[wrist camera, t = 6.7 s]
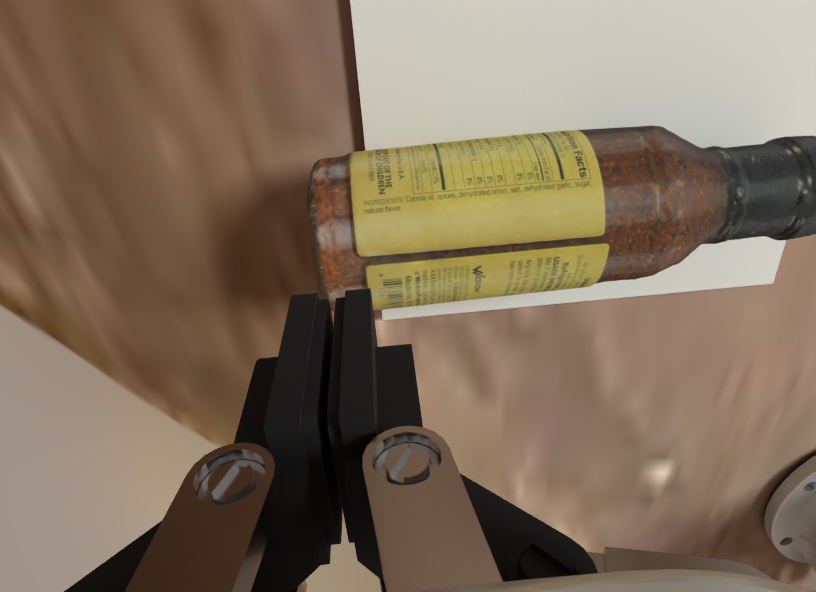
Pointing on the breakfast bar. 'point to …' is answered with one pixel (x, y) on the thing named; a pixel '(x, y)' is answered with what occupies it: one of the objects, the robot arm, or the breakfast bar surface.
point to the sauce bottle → (544, 211)
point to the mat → (592, 94)
